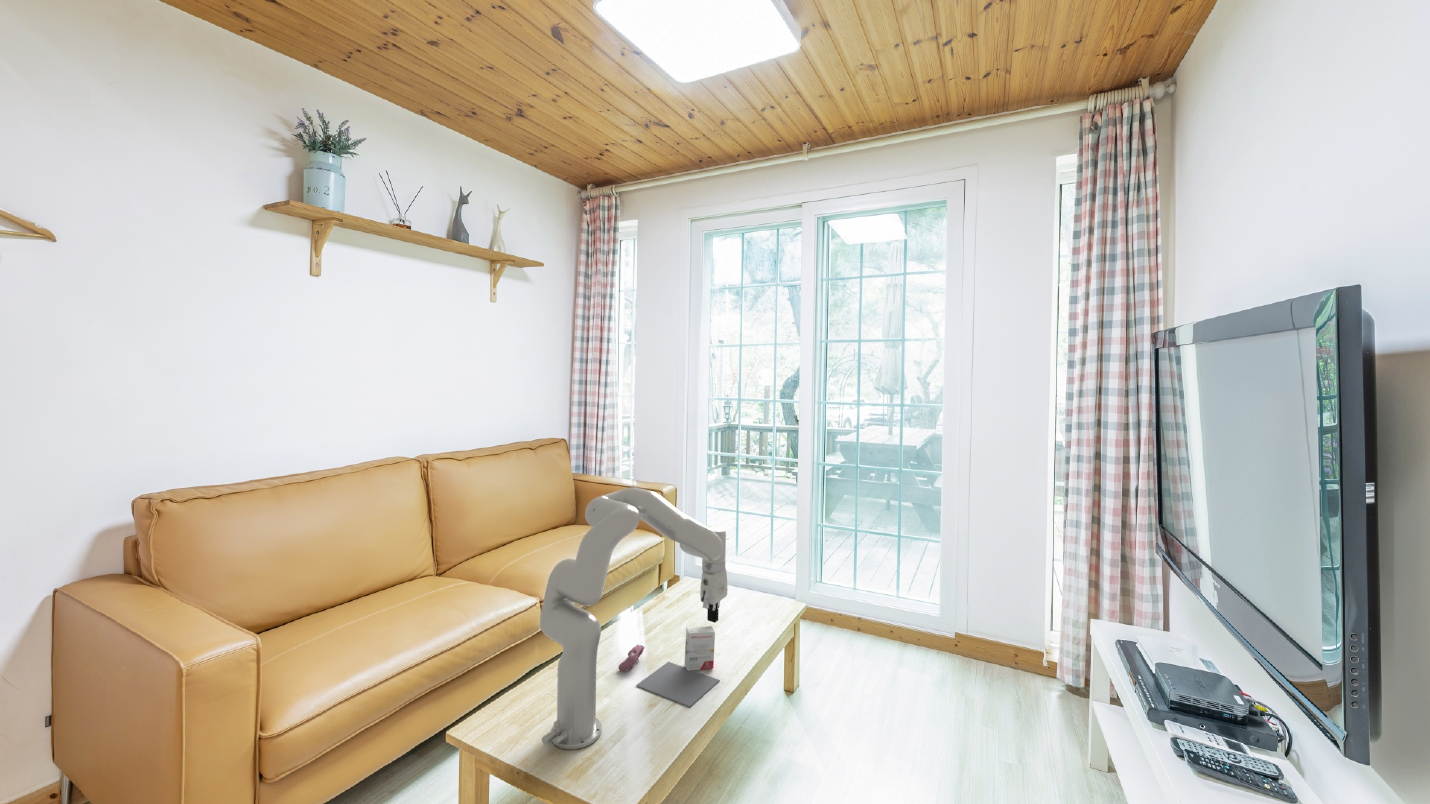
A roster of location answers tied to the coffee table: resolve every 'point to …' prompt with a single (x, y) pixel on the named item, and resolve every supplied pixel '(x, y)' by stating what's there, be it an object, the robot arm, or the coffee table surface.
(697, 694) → the mat
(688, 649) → the ink box
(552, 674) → the coffee table surface
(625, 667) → the video game controller
